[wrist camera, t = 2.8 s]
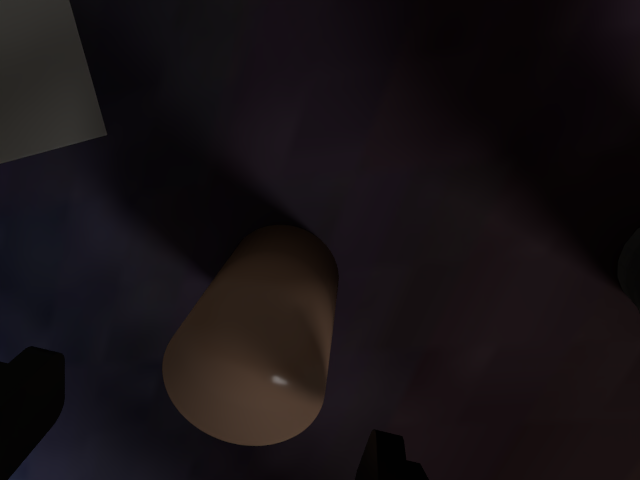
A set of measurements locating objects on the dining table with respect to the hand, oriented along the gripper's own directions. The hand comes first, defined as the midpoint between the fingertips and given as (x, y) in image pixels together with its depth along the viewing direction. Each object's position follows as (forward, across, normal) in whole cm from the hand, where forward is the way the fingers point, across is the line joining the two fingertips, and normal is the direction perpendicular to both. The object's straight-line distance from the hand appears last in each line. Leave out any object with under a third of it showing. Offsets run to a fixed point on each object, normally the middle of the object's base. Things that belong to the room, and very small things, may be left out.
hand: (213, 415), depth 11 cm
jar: (+9, 0, 0) cm, 9 cm away
